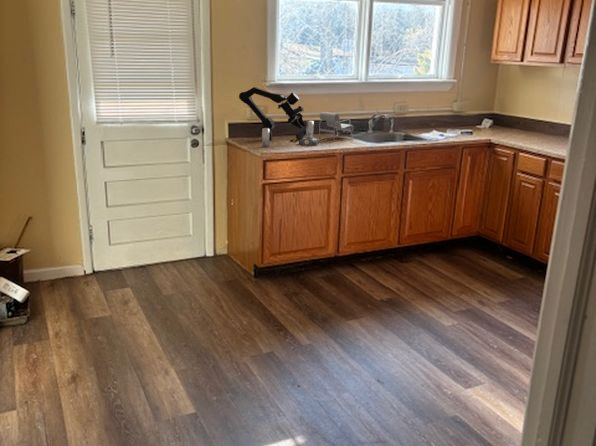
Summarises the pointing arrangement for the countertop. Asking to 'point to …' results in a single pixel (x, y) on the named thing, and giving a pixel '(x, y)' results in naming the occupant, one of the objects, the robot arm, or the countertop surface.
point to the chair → (334, 123)
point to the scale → (309, 142)
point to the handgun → (301, 132)
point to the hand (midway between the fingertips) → (303, 127)
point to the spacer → (265, 137)
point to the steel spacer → (309, 129)
